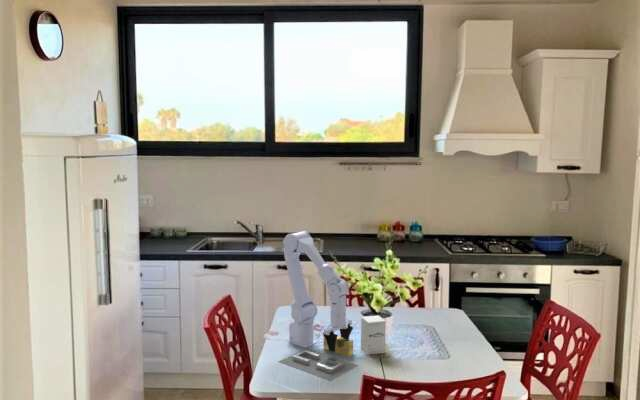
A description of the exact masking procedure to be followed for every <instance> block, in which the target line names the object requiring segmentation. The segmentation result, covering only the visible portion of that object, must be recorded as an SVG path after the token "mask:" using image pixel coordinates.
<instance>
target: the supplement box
mask: <svg viewBox="0 0 640 400" xmlns="http://www.w3.org/2000/svg"><path fill="white" fill-rule="evenodd" d="M386 322H387V321H386V320H385V319H384V318H383V317H382V316H380V315H368V316H367V315H366V316H361V318H360V349H361V350H362V351H364V353H365V354H366V355H376V354H385V353H386Z"/></svg>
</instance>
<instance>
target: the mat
mask: <svg viewBox="0 0 640 400" xmlns="http://www.w3.org/2000/svg"><path fill="white" fill-rule="evenodd" d="M305 350H307V351H310V352H313V353H316V354H319V355H320V359H319V360H316V359H313V358H310V357H307V356H304V357H303V358H306V359H309V360H310V364H308V365H305V364H302V363H300V362H297V361H294V360H293V356H294V355H296V354H298V353H300V352H302V351H305ZM327 358H331V359H334V360H337V361H340V362H343V363H344V367H343V368H341V369H340V370H338V371H336V372H334V373H332V374H330V373H328V372H325V371H322V370H319V369H316V364H317V363H321V364H324V365H326V366H329V367H334V366H333V365H330V364H327V363H326V359H327ZM277 363H280V364H283V365H286V366H289V367H292V368H294V369H296V370H299V371H303V372H305V373H308V374H310V375H312V376H316V377H318V378H321V379H324V380H325V381H329V382H331V381H333V380H335V379H337V378H339V377H341V376H342V375H344V374H345V373H348V372H349V371H351V370H353V369H354V368H357V367H359V364H356V363H353V362H350V361H346V360H344V359H341V358H338V357H334V356H333V355H332V356H331V355H329V354H326V353H322V352H320V351H316V350H313V349H311V348H308V347H306V348H305V349H303V350H301V351H298V352H296V353H294V354H292V355H290V356H287V357H285V358H282V359H281V360H279V361H278V362H277Z"/></svg>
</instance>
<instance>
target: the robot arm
mask: <svg viewBox="0 0 640 400" xmlns="http://www.w3.org/2000/svg"><path fill="white" fill-rule="evenodd" d="M282 243H283V248H284V250H283V252H284V253H283V254H284V255H283V257H284V261H285V266H286V268H287V273H288V277H289V278H288V279H289V281H290V286H291V290H292V295H293V301H292V302H291V304H290V307H291V312H290V315H291V318H292V320H291V321H290V323H289V325H288V327H289V328H288V329H289V330H288V331H289V334H288V335H289V340H287V343H290V344H293V345H294V346H295V345H296V346H299V347H302V348H305V349H307V348H308V347H310V346H312V345H315V344H317V343H319V341H318V340H316V339H315V338H314V335H315V333H314V324H315V323H314V321H315V317H316V316H317V315H318V307H317V305H316V304H315V302H314V299H313V297H311V296H309V294H308V290H307V286H306V282H305V278H304V274H303V269H302V265H301V261H300V255H301V254H306V256H307V257H308V258H309V259H310V260H311V262H312V263H313V265H314V266H315V267H316V268H317V274H318V276H319V277H320V279H321V280H322V282H323V283H324V285H325V286H326V288H327V289H326V290H327V295H328V296H329V302H330V323H329V325H328V326H327V327H325V328H323V332H322V335H323V338H324V337H325V339H326V341H327V344H328V347H329V350H328V352H332V353H335V344H336V339H337V336H339V334H335V332H336V331H339V333H340V337H343V338H346V339H350V335H351V333H352V331H353V330H354V327H353V326H352V323H353V321H352V319H350V318H347V294H348V293H349V291H350V287H349V284H348V281H346V279H342V278H341V277H340V276H339V275H338V273H336V271H335V268H334V267H333V266H332V265H331V264H328V263H326V261H325V260H324V258H323V257H322V256H321V254H320V252H319V251H318V249H317V248H316V246H315V244H314V239H313V237H312V236H311V234H310V233H309V232H308V231H306V230H302V231H299V232H298V231H297V232H295V233H288V234H287V235H286V236H285V237H284V239H283V240H282Z"/></svg>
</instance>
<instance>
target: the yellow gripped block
mask: <svg viewBox="0 0 640 400" xmlns="http://www.w3.org/2000/svg"><path fill="white" fill-rule="evenodd" d="M323 349H324V350H326V351H329V347H328V344H327V341H326V339H325V337H324V336H323ZM334 353H335V354H338V355H341V356H345V357H347V358H350V357H351V356H353V355H354V340H352V339H350V338H349V339H346V338H343V337H341V336H339V335H338V336H337V339H336V344H335V352H334Z"/></svg>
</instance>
